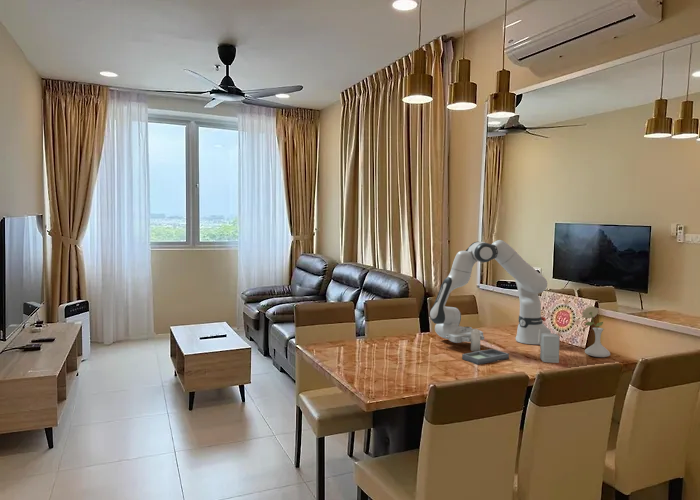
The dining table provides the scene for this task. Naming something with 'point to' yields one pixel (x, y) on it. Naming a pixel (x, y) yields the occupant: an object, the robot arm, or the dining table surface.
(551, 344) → the supplement box
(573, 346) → the dining table surface
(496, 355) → the caddy
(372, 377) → the dining table surface
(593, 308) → the flower in vase
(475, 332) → the white round-topped cylinder
